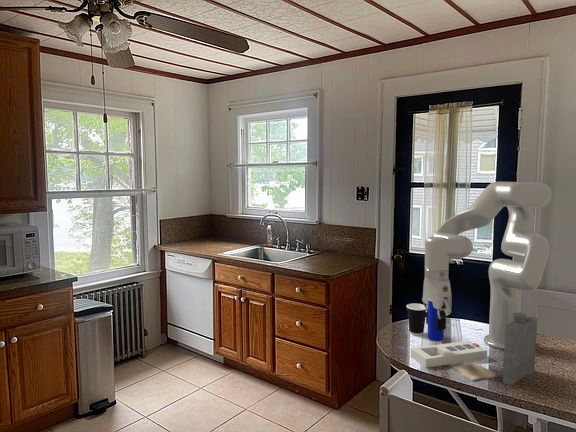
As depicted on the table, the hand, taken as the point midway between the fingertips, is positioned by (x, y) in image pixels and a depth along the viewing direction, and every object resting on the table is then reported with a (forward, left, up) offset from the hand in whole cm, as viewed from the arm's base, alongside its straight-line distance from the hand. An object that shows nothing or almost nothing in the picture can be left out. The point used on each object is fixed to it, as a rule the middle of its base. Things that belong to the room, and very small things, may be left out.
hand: (435, 325), depth 149 cm
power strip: (-5, 0, -12) cm, 13 cm away
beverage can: (0, 0, -5) cm, 5 cm away
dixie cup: (-7, -23, -12) cm, 27 cm away
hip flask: (-18, +18, -12) cm, 28 cm away
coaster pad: (-6, +12, -12) cm, 18 cm away
